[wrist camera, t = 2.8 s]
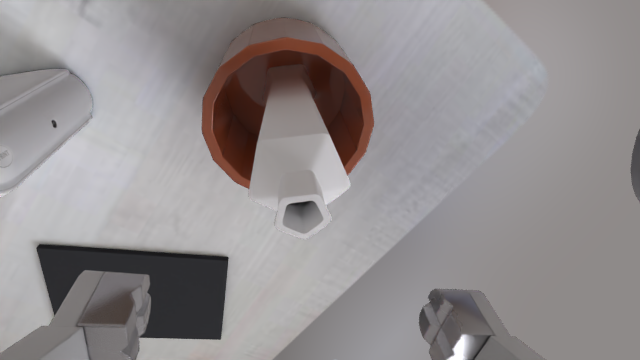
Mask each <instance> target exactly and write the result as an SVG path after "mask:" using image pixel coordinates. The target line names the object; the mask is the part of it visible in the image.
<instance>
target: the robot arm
mask: <svg viewBox="0 0 640 360" xmlns="http://www.w3.org/2000/svg"><path fill="white" fill-rule="evenodd" d="M149 286H150V278H149V275H147V274H134V273H120V272H103V271H89V270H84V271H83V272H82V273H81V274H80V275H79V276H78V278H77V279H76V281H75V283H74V284H73V286H72V288H71V289H70V291H69V293H68V294H67V296H66V298H65V299H64V301H63V303H62V304H61V306H60V308H59V309H58V311H57V313H56V314H55V316H54V318H53V319H52V321H51V323H50V324H49V326H41V327H39V328H38V329H36V330H35V331H33V332H32V333H30V334H28V335H27V336H25V337H24V338H22V339H21V340H19V341H18V342H16V343H15V344H13V345H12V346H10V347H9V348H7V349H6V350H4V351H3V352H1V353H0V360H136V357H137V354H138V352H139V349H140V348H139V337H140V336H141V335H143V334H144V333H145V330H146V327H147V324H148V320H149V315H150V309H151V296H150V295H149V294H148V293H147V292H148V289H149ZM428 298H429V301H430V302H429V303H428V304H426V305H425V306H423V308H422V310H421V312H420V317H419V326H420V331H421V333H422V336H423V338H424V339H425V340H426V341H427V342H428V343H429V344H430V345H431V346H430V349H429V354H430V356H431V358H432V360H545V359H544V358H543V357H542V356H540V355H539V354H538V353H536V352H535V351H534V350H532V349H531V348H530V347H528V346H527V345H526V344H524V343H523V342H522V341H521V340H519V339H518V338H517V337H513V336H510V334H509V333H508V331H507V329H506V328H505V327H504V325H503V323H502V322H501V320H500V319H499V317H498V315H497V314H496V312H495V310H494V309H493V307H492V306H491V304H490V303H489V301H488V300H487V298H486V296H485V295H484V294H483V293H482V292H481V291H477V290H457V289H434V290H432V291H431V292H430V294H429V296H428Z"/></svg>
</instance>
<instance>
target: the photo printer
mask: <svg viewBox="0 0 640 360" xmlns="http://www.w3.org/2000/svg"><path fill="white" fill-rule="evenodd" d="M92 106H93V102H92V97H91V94H90V92H89V90H88V89H87V87H86V86H85V84H84V83H83V82H82V81H81V80H80V79H79V78H77V77H76V76H75V75H73V74H70V73H69V71H68V70H66V69H46V70H37V71H31V72H24V73H17V74H11V75H5V76H0V197H2V196H4V195H6V194H8V193H10V192H11V191H13V190H14V189H16V188H17V187H18V186H20V185H21V184H22V183H23V182H24V181H25V180H26V179H27V178H28V177H29V176H30V175H31V174H33V173H34V172H35V171H36V170H37V169H38V168H39V167H40V166H41V165H42V164H43V163H45V162H46V161H47V160H48V159H49V158H50V157H51V156H52V155H53V154H54V153H55V152H57V151H58V150H59V149H60V148H61V147H62V146H63V145H64V144H65V143H66V142H68V141H69V140H70V139H71V138H72V137H73V136H74V135H75V134H76V133H77V132H78V131H80V130H81V129H82V128H83V127H84V126H85V125H86V124H87V123H89V121H90V120H91V119H92V115H91V113H90V112H91V110H92Z"/></svg>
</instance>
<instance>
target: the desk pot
mask: <svg viewBox="0 0 640 360" xmlns="http://www.w3.org/2000/svg"><path fill="white" fill-rule="evenodd" d="M298 64H302V65H304V66H305V68H306V71H307V73H308V75H309V78H310V80H311V82H312V85H313V87H314V89H315V92H316V96H315V98H314V102H315V104H316V106H317V109H318V111H319V113H320V115H321V117H322V120H323V122H324V124H325V126H326V128H327V130H328V133H329V135H330V137H331V139H332V142H333V144H334V146H335V148H336V151H337V153H338V155H339V158H340V160H341V162H342V164H343V167H344V169H345V171H346V174H347V176H348V175H349V173H350V172H351V171H352V170H353V168H354V167H355V166H356V165H357V163H358V162H359V161H360V160H361V158H362V157H363V156H364V155H365V153H366V150H367V147H368V143H369V140H370V137H371V133H372V130H373V127H374V119H373V111H372V102H371V94H370V92H369V90H368V88H367V87H366V85H365V83H364V82H363V80H362V78H361V77H360V75H359V74H358V72H357V70H356V69H355V67H354V65H353V64H352V62H351V61H350V60H349V58H348V57H347V55H346V54H345V53H344V51H343V50H342V48H341V47H340V46H339V44H338V43H337V41H336V40H335V39H334V38H333V37H331V36H330V35H328V34H327V33H326V32H324V31H323V30H322V29H320V28H318V27H317V26H315V25H314V24H313V23H310V22H305V21H302V20H298V19H291V18H285V17H283V18H282V17H281V18H276V19H269V20H266V21H263V22H259V23H255V24H253V25H252V26H251V27H249V28H248V29H247V30H245V31H244V32H242V33H241V34H240V35H239V36H238V37H237V38H235V39H234V40H233V41H232V42H231V43H230V45H229V47H228V49H227V51H226V53H225V55H224V57H223V59H222V61H221V63H220V65H219V67H218V69H217V71H216V73H215V75H214V77H213V79H212V81H211V83H210V85H209V87H208V89H207V91H206V93H205V95H204V97H203V104H202V134H203V136H204V139H205V141H206V143H207V146H208V148H209V151H210V153H211V156H212V158H213V160H214V161H215V162H216V163H217V164H218V165H219V166H220V167H221V168H222V169H223V170H224V171H225V172H226V174H227V175H228V176H229V177H230V178H231V179H232V180H233V181H234V182H236V183H237V184H240V185H242V186H244V187H246V188H248V189H249V187H250V181H251V175H252V170H253V164H254V158H255V152H256V146H257V142H258V137H259V133H260V129H261V125H262V120H263V116H264V112H265V108H266V103H265V102H264V100H263V96H264V90H265V84H266V78H267V72H268V69H269V68H271V67H278V66H288V65H298Z"/></svg>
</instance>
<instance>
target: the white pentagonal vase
mask: <svg viewBox="0 0 640 360" xmlns="http://www.w3.org/2000/svg"><path fill="white" fill-rule="evenodd" d="M315 96H316V92H315V89H314V87H313V85H312V82H311V80H310V78H309V75H308V73H307V71H306V68H305V66H304V65H302V64H298V65H288V66H278V67H271V68H269V69H268V72H267V78H266V84H265V90H264V96H263V100H264V102H265V103H266V108H265V112H264V116H263V120H262V125H261V129H260V133H259V137H258V142H257V146H256V152H255V158H254V164H253V170H252V175H251V181H250V187H249V193H248V197H249V199H250V200H252V201H254V202H256V203H258V204H261V205H263V206H266V207H268V208H271V209H273V210H275V211H277V213H276V218H275V222H274V226H275V228H276V229H278V230H279V231H282V232H284V233H287V234H289V235H292V236H295V237H297V238H300V239H308V238H310V237H311V236H313V235H314V234H316V233H317V232H318V231H320V230H321V229H322V228H324V227H325V226H327V225H328V224H329V223H330V222H331V219H332V218H331V215H330V213H329V211H328V209H327V207H326V205H328V204H329V203H330V202H332V201H333V200H334V199H336V198H337V197H338V196H340V195H341V194H342V193H344V192H345V191H346V190H348V189H349V188H350V185H351V184H350V180H349V178H348V176H347V174H346V171H345V169H344V167H343V164H342V162H341V160H340V158H339V155H338V153H337V151H336V148H335V146H334V144H333V142H332V139H331V137H330V135H329V133H328V130H327V128H326V126H325V124H324V122H323V120H322V117H321V115H320V113H319V111H318V109H317V106H316V104H315V102H314V98H315Z"/></svg>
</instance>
